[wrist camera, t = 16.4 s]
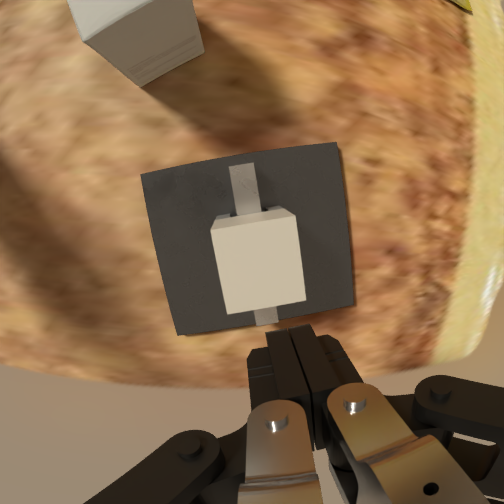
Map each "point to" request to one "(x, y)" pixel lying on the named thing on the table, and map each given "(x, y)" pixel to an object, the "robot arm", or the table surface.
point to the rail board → (213, 197)
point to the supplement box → (139, 34)
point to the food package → (463, 4)
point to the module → (258, 259)
